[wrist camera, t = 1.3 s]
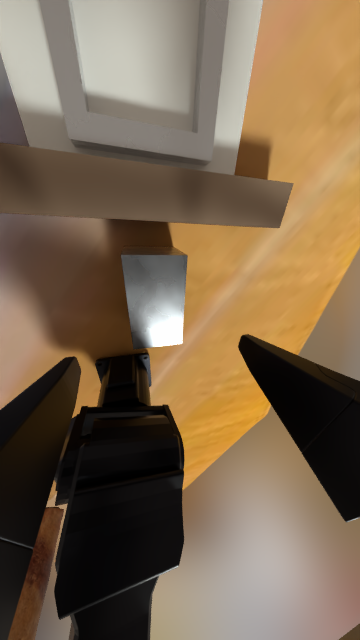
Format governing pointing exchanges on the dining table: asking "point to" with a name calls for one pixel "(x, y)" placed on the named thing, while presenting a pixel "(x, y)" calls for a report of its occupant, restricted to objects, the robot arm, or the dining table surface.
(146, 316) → the block
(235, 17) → the mini door model
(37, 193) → the brown wooden bar
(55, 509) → the wafer roll
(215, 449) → the dining table surface
